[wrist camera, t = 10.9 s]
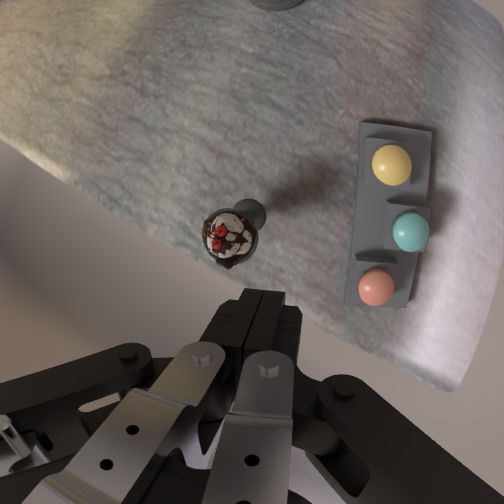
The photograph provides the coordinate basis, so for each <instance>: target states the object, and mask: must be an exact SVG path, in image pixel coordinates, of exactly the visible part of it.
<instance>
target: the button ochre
mask: <svg viewBox="0 0 504 504" xmlns="http://www.w3.org/2000/svg"><path fill="white" fill-rule="evenodd" d="M371 167H372V171H373V173H374V175H375V176H376V177H377V178H378V179H379V180H380V181H382V182H383V183H385V184H387V185H392V186H395V185H399V184H402V183H403V182H405V181H406V180H407V179H408V177H409V175H410V173H411V169H412V164H411V159H410V157H409V155H408V154H407V152H406V151H405V150H404V149H402V148H401V147H399V146H395V145H384V146H381V147H380V148H378V149H377V150H376V151H375V152H374V154H373V156H372V160H371Z"/></svg>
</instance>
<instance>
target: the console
mask: <svg viewBox="0 0 504 504" xmlns="http://www.w3.org/2000/svg"><path fill="white" fill-rule="evenodd" d="M431 139H432V132H429V131H423V130H417V129H411V128H405V127H398V126H390V125H382V124H374V123H365V122H360V123H359V148H358V168H357V184H356V198H355V210H354V221H353V231H352V240H351V249H350V257H349V265H348V273H347V280H346V287H345V294H344V304H351V305H366V306H371V305H368V304H366V303H365V302H363V300H362V299H361V297H360V294H359V289H358V282H359V279H360V277H361V276H362V275H363V274H364V273H365V272H366V271H368V270H370V269H374V268H380V269H383V270H385V271H387V272H388V273H389V275H390V276H391V279H392V281H393V283H394V293H393V295H392V297H391V298H390V300H389V301H387V302H386V303H384V304H382V305H379V306H381V307H399V308H407V304H408V300H409V295H410V291H411V287H412V282H413V278H414V273H415V268H416V263H417V258H418V253H419V252H425V248H426V244H425V245H424V246H423V247H422V248H421V249H419V250H417V251H414V252H408V251H404V250H403V249H401V248H400V247H399V246H398V245H397V243H396V242H395V240H394V238H393V235H392V226H393V223H394V221H395V219H396V218H397V217H398V216H399V215H400V214H402V213H404V212H415V213H418V214H419V215H420V216H422V217H423V218H424V219H425V220H426V221H427V223H428V225H429V224H430V218H431V211H432V208H430V207H429V206H427V205H426V200H427V191H428V182H429V171H430V157H431ZM384 145H395V146H399V147H401V148H402V149H404V150H405V151H406V152H407V154H408V155H409V157H410V159H411V164H412V169H411V173H410V175H409V177H408V179H407V180H406V181H405V182H403V183H402V184H399V185H395V186H392V185H387V184H385V183H383V182H382V181H380V180H379V179H378V178H377V177H376V176H375V175H374V173H373V171H372V167H371V160H372V156H373V154H374V152H375V151H376V150H377V149H378V148H380V147H381V146H384Z"/></svg>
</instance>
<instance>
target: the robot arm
mask: <svg viewBox="0 0 504 504" xmlns="http://www.w3.org/2000/svg"><path fill="white" fill-rule="evenodd" d="M250 1H251V2H252V3H253V4H254V5H256V6H257V7H260V8H262V9H266V10H271V11H280V10H286V9H290V8H292V7H294V6H297V5H298V4H299V3H301V2H302V1H303V0H250ZM302 315H303V314H302V313H301V311H300V309H299V308H298V306H288V305H285V292H280V291H270V290H265V291H264V290H259V289H249V288H244V290H243V292H242V294H241V296H240V298H239V300H228V301H226V302H225V303H223V304H222V305H220V306H219V308H218V310H217V311H216V313H215V315H214V316H213V318H212V320H211V322H210V323H209V325H208V326H207V328H206V330H205V332H204V333H203V335H202V336H201V338H200V340H199V341H198V342H195V343H191V344H188V345H186V346H184V347H183V348H182V349H181V350H180V351H179V352H178V353H177V355H176V356H175V357H171V358H152V356H151V352H150V350H149V349H148V348H147V347H146V346H144V345H142V344H139V343H126V344H122V345H119V346H116V347H113V348H110V349H107V350H104V351H101V352H98V353H95V354H92V355H89V356H86V357H83V358H80V359H77V360H74V361H71V362H68V363H65V364H62V365H58V366H56V367H52V368H49V369H46V370H43V371H40V372H36V373H33V374H30V375H26V376H23V377H20V378H16V379H13V380H9V381H6V382H3V383H0V504H312V503H311V502H309V501H308V500H307V499H305V498H304V497H302V496H300V495H299V494H297V493H295V492H293V491H291V490H289V489H288V484H289V471H290V458H291V445H292V446H295V447H297V448H300V449H303V450H305V454H306V456H307V458H308V459H309V460H310V462H311V463H312V464H313V465H314V467H315V468H316V469H317V470H318V471H319V473H320V474H321V475H322V476H323V477H324V478H325V480H326V481H327V482H328V483H329V484H330V486H331V487H332V488H333V489H334V490H335V491H336V492H337V494H338V495H339V496H340V497H341V498H342V499H343V500H344V501H345V503H346V504H504V496H502V495H501V494H499V493H498V492H497V491H496V490H495V489H493V488H492V487H491V486H489V485H488V484H487V483H485V482H484V481H483V480H482V479H480V478H479V477H478V476H477V475H475V474H474V473H473V472H472V471H470V470H469V469H468V468H467V467H466V466H464V465H463V464H462V463H461V462H459V461H458V460H457V459H455V458H454V457H453V456H452V455H451V454H449V453H448V452H447V451H445V450H444V449H443V448H442V447H441V446H440V445H438V444H437V443H436V442H435V441H434V440H432V439H431V438H430V437H429V436H427V435H426V434H425V433H424V432H423V431H421V430H420V429H419V428H418V427H417V426H415V425H414V424H413V423H412V422H411V421H409V420H408V419H407V418H406V417H405V416H404V415H402V414H401V413H400V412H399V411H398V410H396V409H395V408H394V407H393V406H392V405H390V404H389V403H388V402H387V401H386V400H384V399H383V398H382V397H381V396H380V395H379V394H378V393H376V392H375V391H374V390H373V389H372V388H370V387H369V386H368V385H367V384H366V383H365V382H363V381H362V380H361V379H359V378H357V377H354V376H350V375H344V374H343V375H342V374H340V375H333V376H330V377H328V378H326V379H324V380H323V381H322V382H320V381H317V380H314V379H311V378H309V377H307V376H306V375H304V374H303V373H302V372H301V371H300V370H299V368H298V366H297V358H298V351H299V344H300V334H301V325H302ZM116 392H118V395H119V398H120V401H118V402H115V403H112V404H110V405H107V406H104V407H101V408H99V409H96V410H93V411H91V412H81V411H80V410H78V408H79V407H80V406H82V405H83V404H86V403H89V402H92V401H94V400H97V399H100V398H103V397H105V396H108V395H111V394H114V393H116ZM233 401H234V406H233V409H232V413H229V410H230V408H231V405H232V403H233ZM218 441H219V442H218ZM217 443H218V446H217V449H216V453H215V457H214V460H213V464H212V468H211V469H206V468H207V464H208V461H209V459H210V457H211V455H212V453H213V451H214V449H215V447H216V445H217Z"/></svg>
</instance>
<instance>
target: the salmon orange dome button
mask: <svg viewBox="0 0 504 504" xmlns="http://www.w3.org/2000/svg"><path fill="white" fill-rule="evenodd" d="M358 289H359V294H360V297H361V299H362V300H363V302H365V303H366V304H368V305H371V306H379V305H382V304H384V303H386V302H387V301H389V300H390V298H391V297H392V295H393V293H394V283H393V281H392V279H391V276H390V275H389V273H388V272H387V271H385V270H383V269H380V268H374V269H370V270H368V271H366V272H365V273H364V274H363V275H362V276H361V277H360V279H359V282H358Z"/></svg>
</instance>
